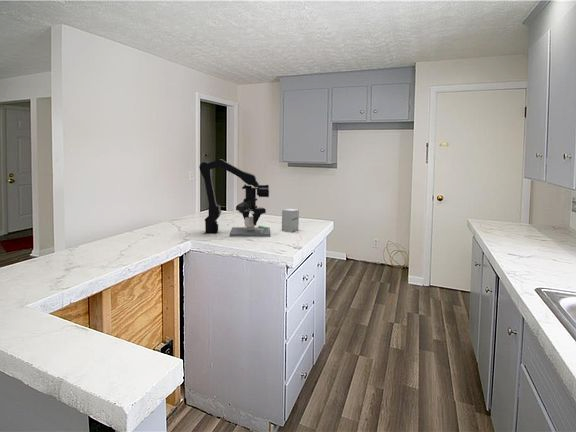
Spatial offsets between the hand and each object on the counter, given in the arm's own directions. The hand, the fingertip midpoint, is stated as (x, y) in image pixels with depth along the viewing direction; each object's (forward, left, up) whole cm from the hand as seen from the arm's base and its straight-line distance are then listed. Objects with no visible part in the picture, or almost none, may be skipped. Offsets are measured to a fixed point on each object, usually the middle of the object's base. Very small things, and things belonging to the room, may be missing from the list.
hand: (250, 224), depth 207 cm
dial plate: (0, 0, -5) cm, 5 cm away
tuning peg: (+3, -3, -3) cm, 5 cm away
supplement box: (+23, +7, -5) cm, 25 cm away
